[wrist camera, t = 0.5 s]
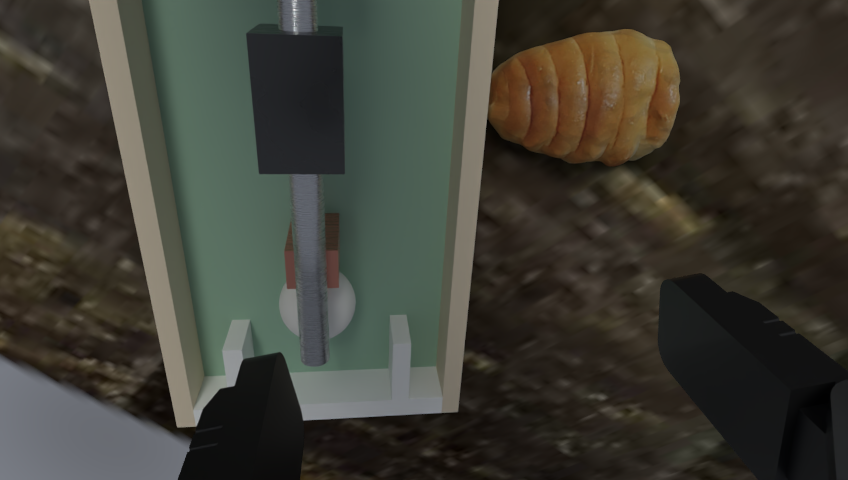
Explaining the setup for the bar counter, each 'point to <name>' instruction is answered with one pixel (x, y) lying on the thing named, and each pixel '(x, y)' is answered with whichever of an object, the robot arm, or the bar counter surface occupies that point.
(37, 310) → the bar counter surface
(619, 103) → the pastry
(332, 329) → the ball
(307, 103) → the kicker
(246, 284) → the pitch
